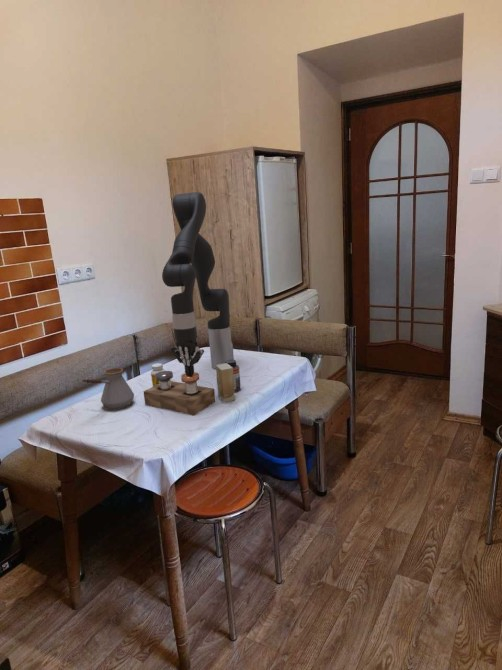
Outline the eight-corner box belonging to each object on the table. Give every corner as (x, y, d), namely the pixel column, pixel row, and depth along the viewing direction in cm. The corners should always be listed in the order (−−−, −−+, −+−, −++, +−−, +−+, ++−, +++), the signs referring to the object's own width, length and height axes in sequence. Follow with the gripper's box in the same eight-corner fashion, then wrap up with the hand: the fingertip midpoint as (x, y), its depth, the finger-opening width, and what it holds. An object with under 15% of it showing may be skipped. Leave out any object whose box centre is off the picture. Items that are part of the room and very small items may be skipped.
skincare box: (218, 397, 169) (214, 364, 166) (229, 394, 171) (226, 362, 168) (224, 403, 164) (221, 369, 161) (235, 400, 165) (233, 367, 162)
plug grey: (166, 394, 173) (163, 369, 171) (179, 397, 170) (176, 371, 168) (155, 400, 169) (151, 375, 166) (167, 403, 165) (164, 377, 163)
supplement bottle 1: (163, 385, 185) (161, 361, 183) (169, 388, 181) (166, 364, 179) (150, 388, 183) (147, 364, 180) (156, 392, 178) (153, 368, 176)
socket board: (168, 392, 177) (166, 380, 176) (215, 402, 165) (214, 388, 164) (145, 404, 167) (143, 391, 166) (193, 415, 156) (192, 401, 154)
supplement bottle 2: (221, 390, 175) (218, 361, 172) (232, 385, 180) (230, 357, 177) (232, 394, 171) (230, 364, 168) (244, 388, 176) (241, 359, 173)
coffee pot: (115, 397, 176) (109, 359, 172) (141, 400, 172) (136, 360, 168) (75, 422, 157) (67, 379, 153) (103, 425, 153) (96, 382, 149)
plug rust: (191, 397, 167) (188, 371, 164) (205, 399, 163) (202, 373, 161) (180, 403, 162) (177, 377, 159) (194, 406, 159) (191, 379, 156)
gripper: (207, 324, 155) (212, 374, 160) (177, 321, 162) (182, 369, 167) (193, 329, 149) (198, 381, 154) (161, 326, 156) (167, 376, 161)
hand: (190, 375), depth 160 cm, fingers closed
